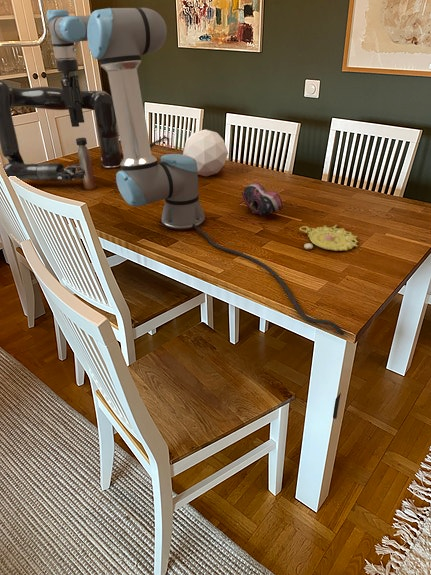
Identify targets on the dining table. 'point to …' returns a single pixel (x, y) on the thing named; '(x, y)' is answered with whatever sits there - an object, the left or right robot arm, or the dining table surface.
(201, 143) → the sphere
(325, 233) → the decorative object
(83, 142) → the cap
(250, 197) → the athletic shoe
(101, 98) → the left robot arm
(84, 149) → the bottle
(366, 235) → the dining table surface
